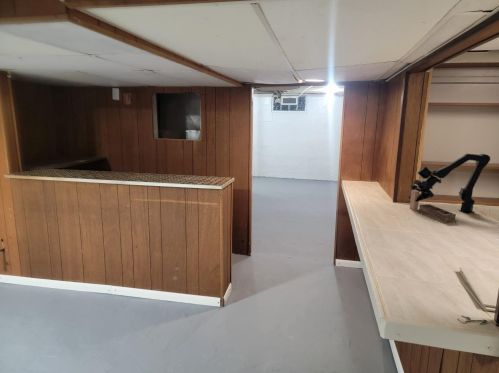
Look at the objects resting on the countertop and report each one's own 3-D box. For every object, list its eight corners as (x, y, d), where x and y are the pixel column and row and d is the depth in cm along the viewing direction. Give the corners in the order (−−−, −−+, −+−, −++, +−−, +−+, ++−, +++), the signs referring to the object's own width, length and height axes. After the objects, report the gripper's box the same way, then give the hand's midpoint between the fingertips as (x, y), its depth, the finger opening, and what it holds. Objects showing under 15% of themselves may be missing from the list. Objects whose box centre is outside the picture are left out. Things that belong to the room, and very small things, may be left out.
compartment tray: (430, 211, 214) (430, 204, 213) (456, 222, 191) (457, 214, 190) (417, 211, 213) (418, 204, 212) (442, 222, 190) (443, 214, 189)
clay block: (413, 208, 222) (415, 189, 220) (417, 209, 218) (419, 191, 215) (409, 208, 222) (411, 190, 219) (413, 210, 218) (415, 191, 215)
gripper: (413, 173, 225) (397, 189, 226) (431, 177, 207) (414, 195, 208) (423, 183, 227) (407, 199, 228) (441, 189, 209) (424, 206, 210)
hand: (412, 199), depth 218 cm, fingers open, 7 cm apart
